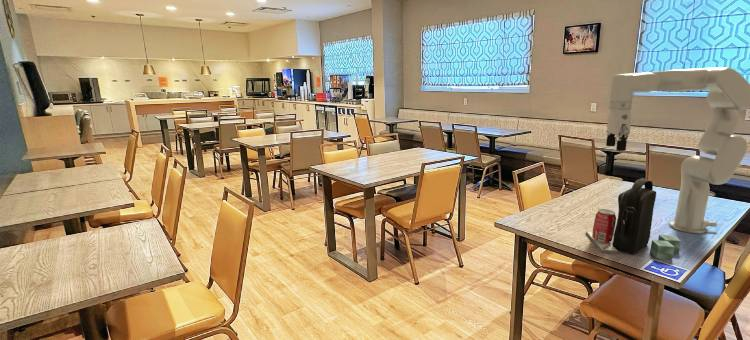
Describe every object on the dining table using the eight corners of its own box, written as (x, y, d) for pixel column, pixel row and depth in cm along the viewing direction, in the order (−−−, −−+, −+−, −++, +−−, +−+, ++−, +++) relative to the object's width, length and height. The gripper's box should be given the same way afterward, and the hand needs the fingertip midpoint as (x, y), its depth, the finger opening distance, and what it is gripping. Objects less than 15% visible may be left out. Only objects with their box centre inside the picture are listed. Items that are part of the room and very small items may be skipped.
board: (600, 234, 159) (600, 232, 159) (617, 253, 142) (618, 250, 142) (585, 233, 160) (586, 231, 160) (601, 252, 143) (601, 249, 143)
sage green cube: (664, 253, 142) (667, 241, 141) (672, 259, 137) (674, 246, 136) (649, 252, 143) (651, 240, 142) (656, 258, 138) (658, 245, 137)
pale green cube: (671, 247, 146) (673, 235, 145) (678, 253, 142) (681, 240, 140) (657, 246, 147) (659, 234, 146) (663, 252, 143) (665, 239, 142)
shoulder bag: (632, 261, 137) (644, 186, 130) (605, 253, 143) (615, 181, 137) (652, 244, 151) (664, 175, 144) (626, 237, 157) (636, 171, 151)
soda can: (607, 237, 154) (613, 209, 151) (614, 244, 147) (620, 215, 144) (588, 235, 155) (593, 207, 152) (595, 242, 148) (600, 213, 145)
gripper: (641, 107, 142) (635, 152, 146) (620, 104, 159) (616, 144, 163) (619, 107, 144) (614, 152, 148) (601, 104, 160) (597, 144, 164)
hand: (615, 148), depth 155 cm, fingers open, 9 cm apart
